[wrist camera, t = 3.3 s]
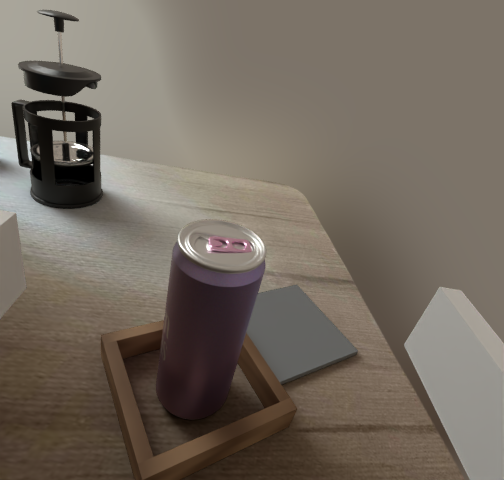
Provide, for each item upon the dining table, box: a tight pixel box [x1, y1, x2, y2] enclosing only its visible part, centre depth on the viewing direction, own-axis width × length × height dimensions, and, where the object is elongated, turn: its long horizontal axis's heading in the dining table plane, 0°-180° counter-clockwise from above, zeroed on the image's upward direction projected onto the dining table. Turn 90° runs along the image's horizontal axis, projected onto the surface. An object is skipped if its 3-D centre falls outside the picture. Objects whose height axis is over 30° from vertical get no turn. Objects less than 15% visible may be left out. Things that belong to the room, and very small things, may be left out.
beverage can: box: [156, 219, 266, 420], centre depth 26 cm, size 6×6×15 cm
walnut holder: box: [101, 320, 297, 480], centre depth 29 cm, size 12×12×2 cm
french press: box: [12, 10, 103, 208], centre depth 46 cm, size 12×9×23 cm
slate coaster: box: [246, 285, 358, 385], centre depth 38 cm, size 11×11×1 cm
